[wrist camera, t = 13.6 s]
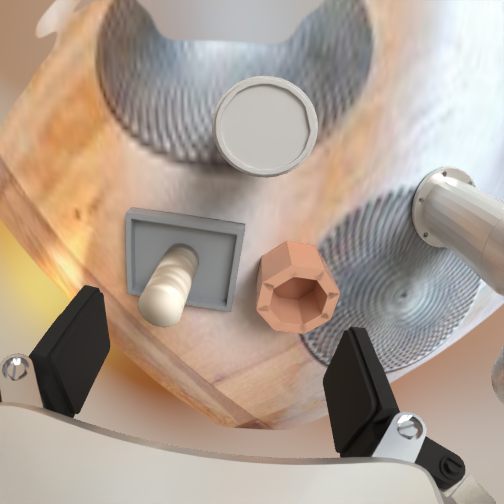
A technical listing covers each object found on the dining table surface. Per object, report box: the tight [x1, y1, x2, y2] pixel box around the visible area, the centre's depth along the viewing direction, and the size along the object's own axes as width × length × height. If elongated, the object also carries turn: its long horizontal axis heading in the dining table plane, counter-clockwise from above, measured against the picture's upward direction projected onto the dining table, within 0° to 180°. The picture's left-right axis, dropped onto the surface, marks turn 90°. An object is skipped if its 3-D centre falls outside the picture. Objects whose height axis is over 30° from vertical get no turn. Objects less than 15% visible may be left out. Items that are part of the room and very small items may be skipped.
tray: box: [126, 207, 245, 312], centre depth 43 cm, size 16×13×2 cm
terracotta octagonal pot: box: [256, 241, 340, 334], centre depth 41 cm, size 10×10×7 cm
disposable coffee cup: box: [212, 76, 318, 177], centre depth 30 cm, size 10×10×12 cm
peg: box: [138, 243, 199, 327], centre depth 38 cm, size 5×5×12 cm
